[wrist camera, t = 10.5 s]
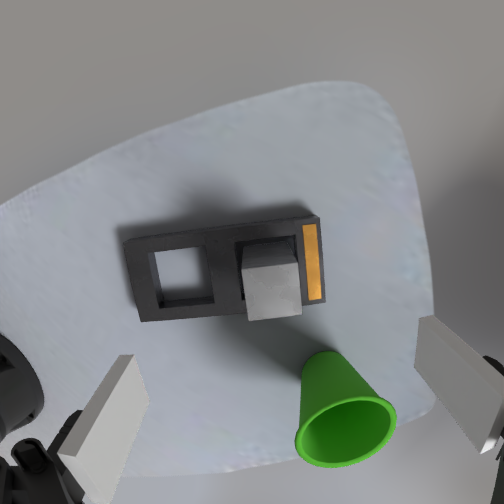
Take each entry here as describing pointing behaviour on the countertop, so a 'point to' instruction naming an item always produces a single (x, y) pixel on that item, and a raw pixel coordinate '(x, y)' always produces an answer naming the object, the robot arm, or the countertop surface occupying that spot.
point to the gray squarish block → (271, 281)
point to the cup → (340, 414)
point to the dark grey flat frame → (222, 266)
